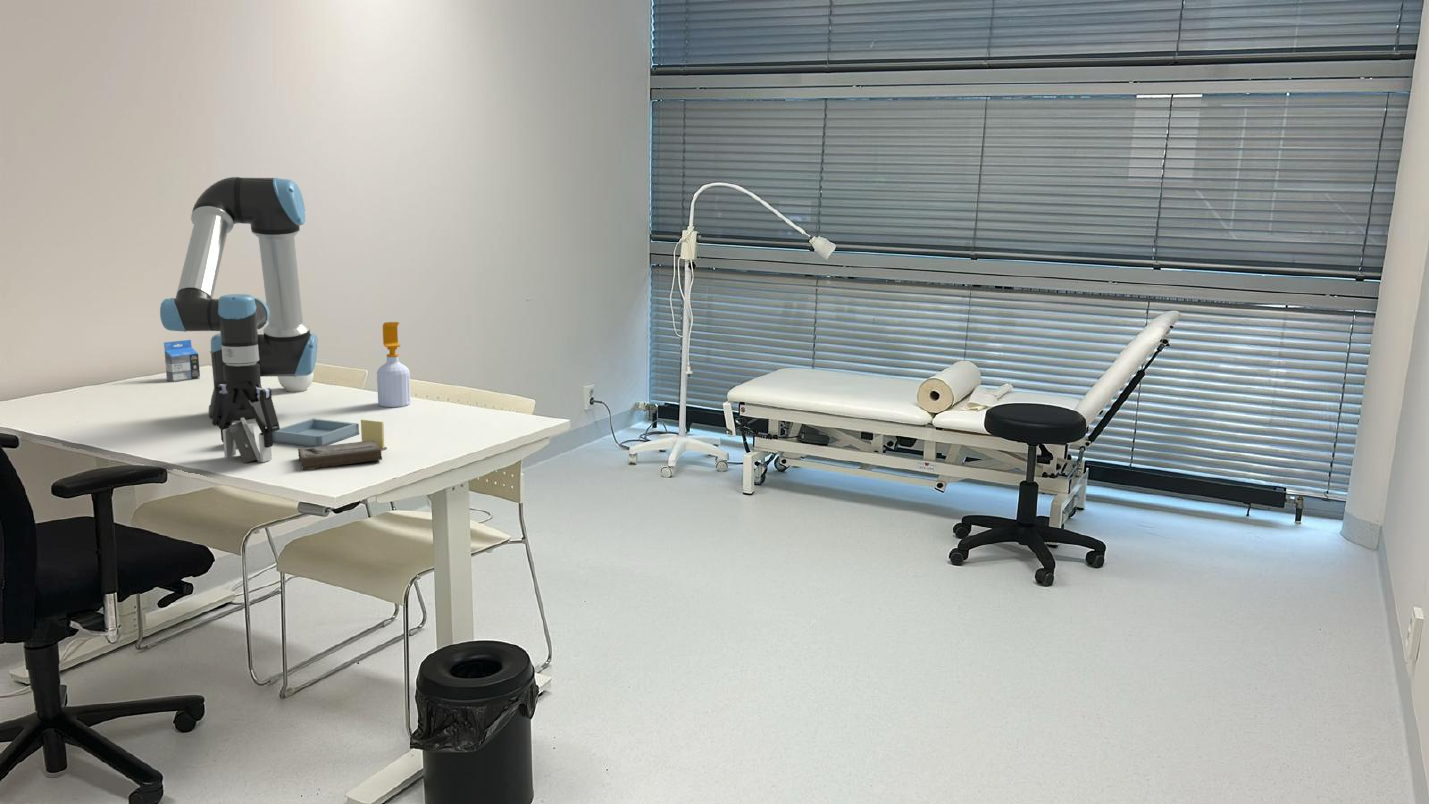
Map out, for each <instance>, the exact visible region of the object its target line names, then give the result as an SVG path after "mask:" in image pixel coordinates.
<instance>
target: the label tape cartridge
mask: <svg viewBox="0 0 1429 804" xmlns="http://www.w3.org/2000/svg"><path fill="white" fill-rule="evenodd" d="M177 345H179V346H177ZM180 345H181V346H180ZM163 347H164V361H165V374H166V375H165V376H166V381H168V382H171V383H176V382H181V381H182V382H183V381H190V380H197V379H201V374H200V373H201V372H200V359H199V353H198V352H197V351H196V350H195V349H194V348H193V345H192V340H191V339H186V340H176V341H168V342H167V341H165V342H163Z"/></svg>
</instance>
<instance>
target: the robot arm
mask: <svg viewBox="0 0 1429 804" xmlns="http://www.w3.org/2000/svg"><path fill="white" fill-rule="evenodd" d="M302 195H303V194H302V192H301V190H300V188H299V185H298V184H297V183H296V182H295V181H294V180H292V179H287V178H286V179H285V178H278V177H240V176H231V177H226V178H223V179H220V180H218V181H216V182H214V183H213V184H210V186H208V188H206V189H205V190H204V191H203V192H202V193H201V194H200V196H199V197H198V198H197V199H196V201H195V203H194V205H193V208H192V211H191V215H190V216H191V217H190V219H191V220H190V221H191V223H192V224H193V225H192V226H193V227H192V230H191V235H190V239H189V242H188V247H187V251H186V255H185V259H184V263H183V266H182V271H181V275H180V279H179V283H178V287H177V290H176V295H175V298H174V297H170V298H165V299H163V301H161V303H160V308H159V316H160V321H161V324H162V326H163V328H164V329H165V330H167V331H173V332H184V333H185V332H218V333H215V334H214V335H213V336H212V337H211V338H210V351H209V352H210V353H209V354H210V355H211V368H212V370H211V371H212V379H213V390H212V395H211V398H210V403H209V405H208V416H209V417H210V418H211V419H212V422H211V424H212V426H215V427H218V428H219V430H220V439H221V442H222V443H224V446H223V453H224V455H223V456H224V458H229V457H233V456H236V455H237V448H236V447H235V441H234V438H233V436H232V434H231V431H230V428H229V426H230V425H232V423H233V422H234V420H235V421H237V420H240V418H243V417H244V418H245V420H248V419H254V420H255V422H256V424H257V426H258V428H259V430H260V433H259V434H258V442H259V452H260V460H261V461H260V463H265V462H268V461H271V460H273V457H272V456H273V455H272V447H273V445H274V442H273V438H272V433H273V432H274V431H277V430H279V429H280V428H281V427H280V424H279V420H278V417H277V412H276V409H275V406H274V405H275V404H274V402H273V398H272V395H273V394H272V392H273V391H272V389H271V388H270V387H267V388H263V386H262V382H261V381H262V380H261V379H262V378H261V377H277V376H294V377H296V376H308V375H310V374H311V373H312V372H313V370H315V367H316V362H317V357H318V347H319V346H318V343H319V342H318V335H316V334H315V333H311V330H310V326H309V325H308V324H307V323H305V322H304V320H303V312H302V300H301V293H300V292H301V291H300V290H301V289H300V282H299V273H298V271H299V270H298V261H297V251H296V243H295V236H296V235H297V234H298V233H299V232H300V231H301V230H300V226H302V225H304V224H305V223H306V213H305V212H306V208H305V204H304V203H305V202H304V199H303V196H302ZM235 224H245V225H246V224H248V225H249V224H250V230H251V233H252V234H253V235H255V236H256V238H258V243H259V254H260V260H261V262H260V263H261V270H262V278H263V286H264V287H263V288H264V295H265V302H264V301H263V300H262V299H260V298H258V297H254V295H251V294H245V293H233V294H231V293H230V294H224V295H220V297H219V298H213V297H214V294H215V289H216V284H217V280H218V275H219V273H220V272H219V271H220V266H221V262H222V259H223V258H222V257H223V252H224V250H225V249H224V248H225V244H226V240H227V235H228V233H231V231H232V230H233V228H234V225H235ZM267 323H268V324H267ZM265 325H266V326H265ZM260 329H263V330H262V331H263V333H259V331H258V330H260Z"/></svg>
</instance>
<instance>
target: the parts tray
mask: <svg viewBox="0 0 1429 804" xmlns="http://www.w3.org/2000/svg"><path fill="white" fill-rule="evenodd" d="M359 425H360V424H359V423H357V422H356V423H355V422H348V421H340V420H332V419H331V420H329V419H322V418H314V417H313V418H310V419H307V420H304V421H301V422H297V423H294V424H290V425H288V426H284V427H280V429H279V430H277V431H274V432H273V433H272V438H273V443H276V444H277V443H278V444H285V445H286V444H287V445H292V446H302V447H308V448H310V447H319V446H328V445H333V444H335V443H339V442H340V441H343V440H346V439H350V438H352V437H354V436H358V435H360V426H359Z"/></svg>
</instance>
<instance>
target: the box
mask: <svg viewBox="0 0 1429 804" xmlns="http://www.w3.org/2000/svg"><path fill="white" fill-rule="evenodd" d="M297 453H298V461H299V462H300V464H301V468H302V471H305V470H312V469H313V470H315V469H316V470H317V469H320V468H321V469H322V468H329V467H336V466H342V465H350V464H351V465H352V464H357V463H358V464H359V463H364V462H372V461H380V460H381V461H383V456H382V451H381V450H380V448H379V447H378V446H377V444H376V443H375V441H374V440H373V441H363V442H362V441H356V442H354V441H353V442H347V443H346V442H344V443H340V444H329V445H327V446H319V447H303V448H297Z"/></svg>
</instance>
